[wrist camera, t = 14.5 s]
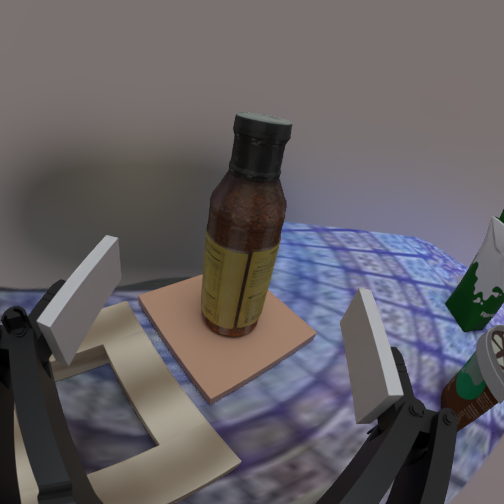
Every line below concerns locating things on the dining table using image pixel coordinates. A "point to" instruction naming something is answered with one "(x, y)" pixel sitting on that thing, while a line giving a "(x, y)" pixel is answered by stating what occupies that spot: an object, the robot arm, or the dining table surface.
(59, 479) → the robot arm
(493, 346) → the food container
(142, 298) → the terracotta tile
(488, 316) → the milk carton
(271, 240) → the sauce bottle
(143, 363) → the bottle stand
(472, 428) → the dining table surface
